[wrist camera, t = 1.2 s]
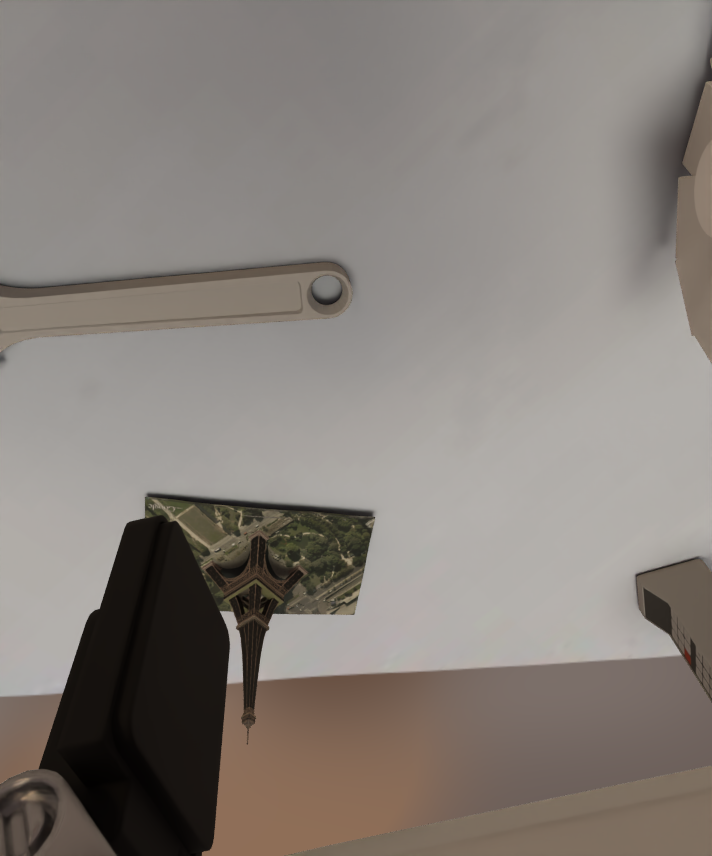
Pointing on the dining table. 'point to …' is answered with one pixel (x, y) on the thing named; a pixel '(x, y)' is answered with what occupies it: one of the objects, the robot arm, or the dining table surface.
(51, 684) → the dining table surface
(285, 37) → the dining table surface
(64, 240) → the dining table surface
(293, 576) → the eiffel tower figurine
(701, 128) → the spiral staircase
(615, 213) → the dining table surface
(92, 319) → the adjustable wrench
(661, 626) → the vintage mobile phone
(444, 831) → the robot arm
